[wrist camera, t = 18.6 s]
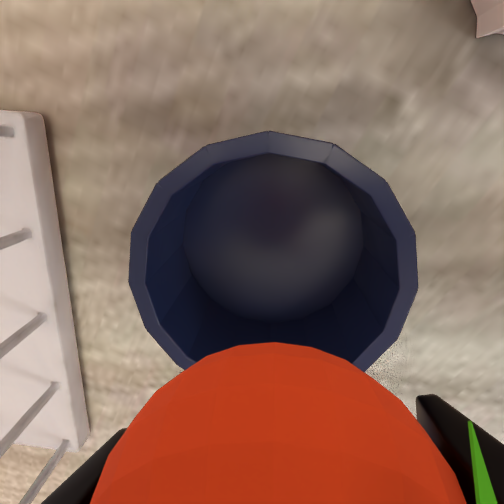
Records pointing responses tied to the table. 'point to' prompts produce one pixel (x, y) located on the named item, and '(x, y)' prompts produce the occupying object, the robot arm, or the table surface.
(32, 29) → the table surface
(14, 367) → the file sorter
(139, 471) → the clementine
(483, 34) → the cup
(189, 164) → the tin
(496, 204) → the table surface
